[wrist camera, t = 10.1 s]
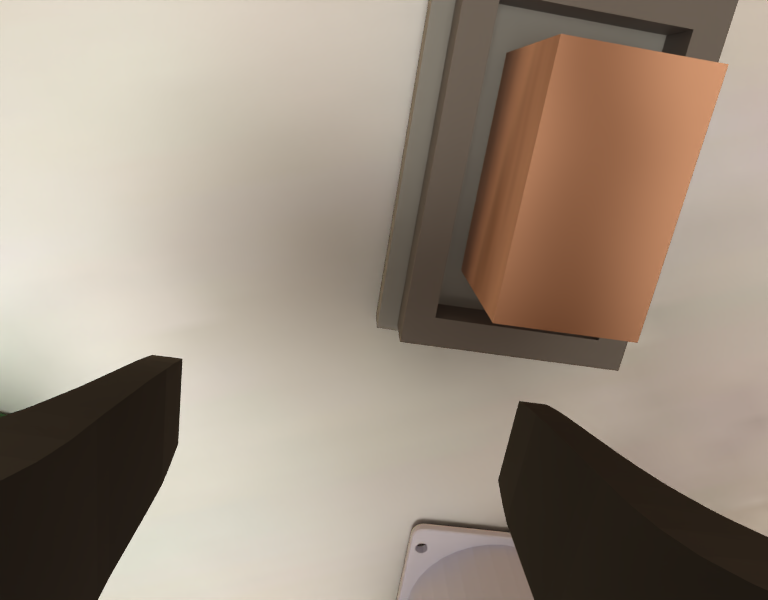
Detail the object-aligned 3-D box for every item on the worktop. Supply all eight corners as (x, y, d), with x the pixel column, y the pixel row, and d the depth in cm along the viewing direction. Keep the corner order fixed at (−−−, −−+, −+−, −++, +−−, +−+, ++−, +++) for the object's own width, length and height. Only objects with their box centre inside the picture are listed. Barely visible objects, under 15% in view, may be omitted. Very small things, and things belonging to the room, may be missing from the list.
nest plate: (604, 346, 22) (635, 378, 20) (376, 315, 21) (378, 344, 19) (708, 8, 18) (765, -7, 16) (436, -45, 17) (448, -70, 15)
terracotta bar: (630, 75, 18) (728, 64, 13) (571, 286, 20) (637, 342, 15) (506, 52, 17) (560, 33, 13) (461, 270, 20) (493, 323, 15)
